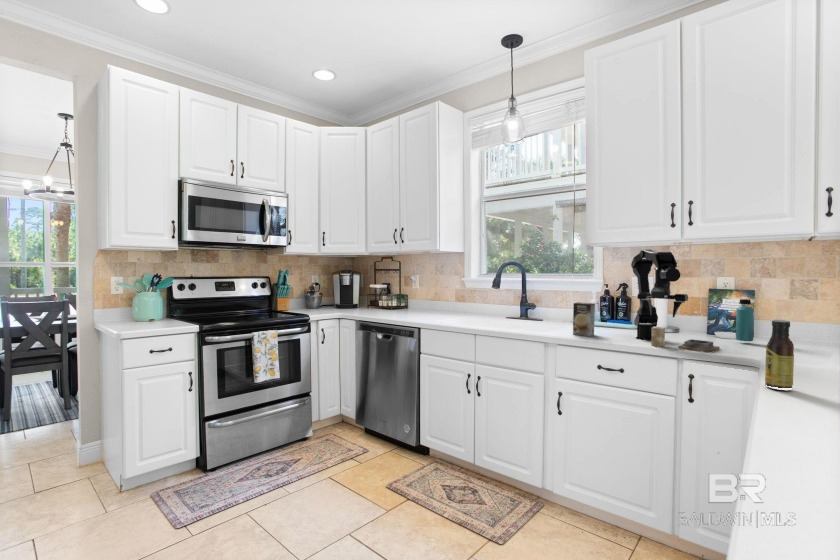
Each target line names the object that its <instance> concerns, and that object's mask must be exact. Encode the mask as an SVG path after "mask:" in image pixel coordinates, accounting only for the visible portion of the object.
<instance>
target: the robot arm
mask: <svg viewBox="0 0 840 560" xmlns="http://www.w3.org/2000/svg"><path fill="white" fill-rule="evenodd" d="M675 258H676V257H675V256H674V254H673V252H671V251H656V250H653V249H641V250H640V251H639V253H637V254H636V255H635V256H633V258H632V260H631V263H630V265H631V268H632V272H633V274H634V275H635V276H636V279H637V287H638V293H637V300H639V307H638V309H637V311H636V315H635V318H634V320H633V323H634V326H636V327H637V328H636V330H637V331H636V336H635V339H640V340H646V341H651V338H652V328H653V327H658V326H657V325H658V322H659V321H658V319H659V317H658V314H657V308H656V306H653V305H652V299H659V300H662V299H663V300H675V301H673V310H672V318H675V317H676V315H677V312H678V311H679V308H680V306H681V305H682V304H683V303H685V302H688V301H689V295H688V294H687V293H675V294H671V282H672V283H674V282H677V281H679V279H680V278H681V272H680V270H679V269H678V268H677V267H678V265H677V264H678V262H677V261H676V259H675ZM653 265H654V266H655V267H654V272H655V273H654V275H655V276H654V277H655V278H654V283H653V285H654V286H653V287H652V289H651V290H650V281H649V274H650V272H651V270H652V266H653Z"/></svg>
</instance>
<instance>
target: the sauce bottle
mask: <svg viewBox="0 0 840 560" xmlns="http://www.w3.org/2000/svg"><path fill="white" fill-rule="evenodd" d="M771 326H772V327H771V328H772V330H771V332H772V333H771V336H770V338H769V340H768V342H767V344H766V346H765V369H764V370H765V372H764V375H765V376H764V377H765V378H764V382H765V386H766V385H767V386H771V387H778V388H792V389H793V386H794V369H795V368H794V366H795V365H794V364H795V363H794V362H795V353H794V350H795V349H794V346H795V345H794V343H793V341H792V340H791V338H790V328H791V321H789V320H785V319H772V320H771Z"/></svg>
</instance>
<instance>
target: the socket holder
mask: <svg viewBox="0 0 840 560" xmlns="http://www.w3.org/2000/svg"><path fill="white" fill-rule="evenodd" d="M677 348H679V350H686V349H687V350H688V351H693V350H695V352H701V351H703V353H709V352H712V353H714V352H716V351H718V350H720V346H718V345H714V341H709V340H701V339H692V338H691V339H688V340H685V341H684V343H683V344H681V345H678V347H677ZM717 349H718V350H717ZM687 350H686V351H687ZM715 350H716V351H715ZM713 351H714V352H713Z"/></svg>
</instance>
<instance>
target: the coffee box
mask: <svg viewBox="0 0 840 560" xmlns="http://www.w3.org/2000/svg"><path fill="white" fill-rule="evenodd" d="M595 305H596V303H593V302H580V301H579V302H574V303H573V307H572V309H573V311H572V312H573V314H572V316H573V317H572V319H573V321H572V335H576V336H577V335H578V336H585V337H591V336H594V335H595V314H596V313H595V312H596V309H595V308H596V306H595Z"/></svg>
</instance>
